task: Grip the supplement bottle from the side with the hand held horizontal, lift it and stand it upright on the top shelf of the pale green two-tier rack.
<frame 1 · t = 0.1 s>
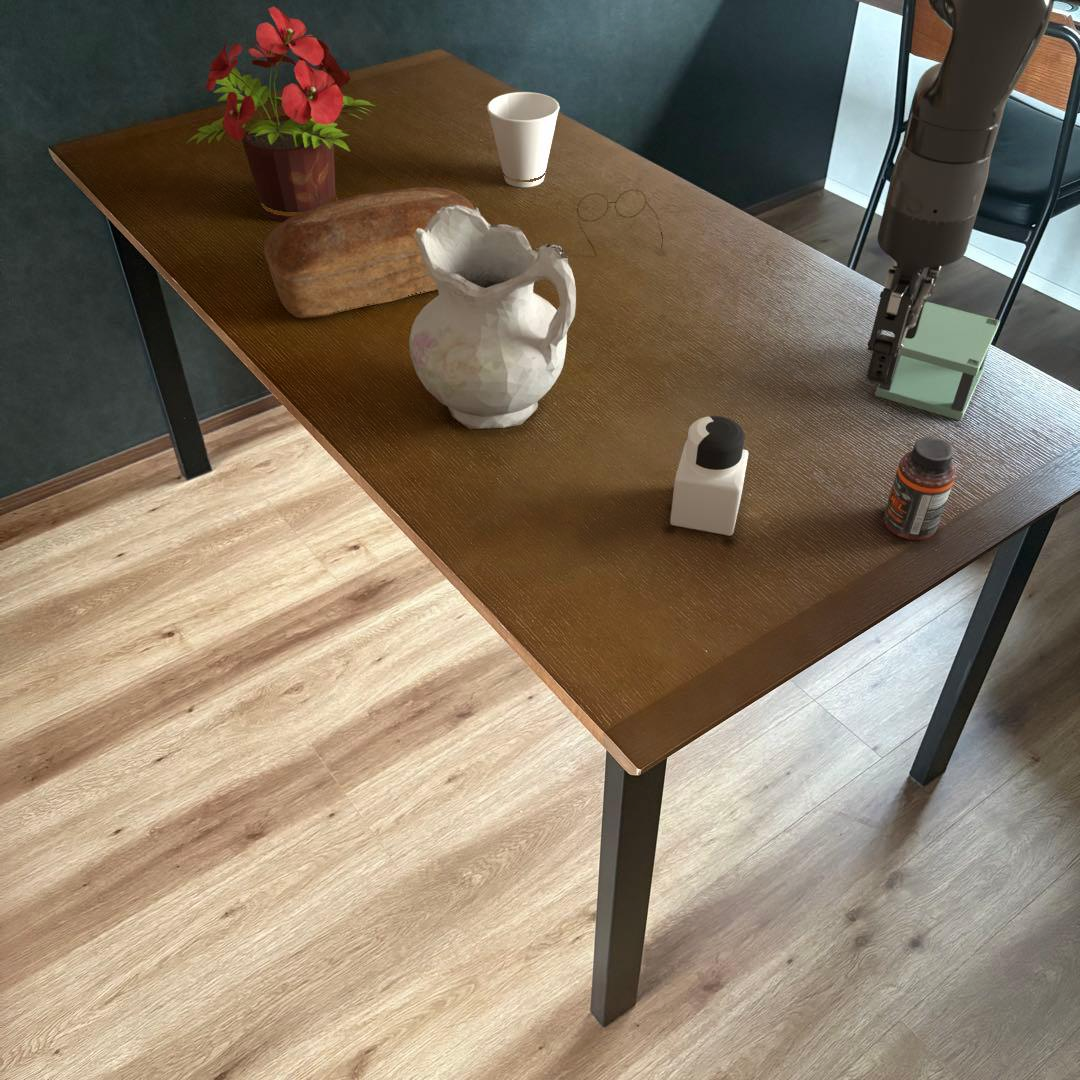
hand: (891, 357, 102), 25 cm above the table, tool pointing down, fingers open, 8 cm apart
potted plant: (307, 198, 180), on the table
medicine bottle: (705, 512, 124), on the table
cup: (524, 179, 184), on the table
shelf rack: (929, 383, 141), on the table
bread: (380, 288, 159), on the table
supplement bottle: (908, 526, 122), on the table
eyeglasses: (619, 236, 170), on the table
ceramic pitcher: (500, 405, 139), on the table
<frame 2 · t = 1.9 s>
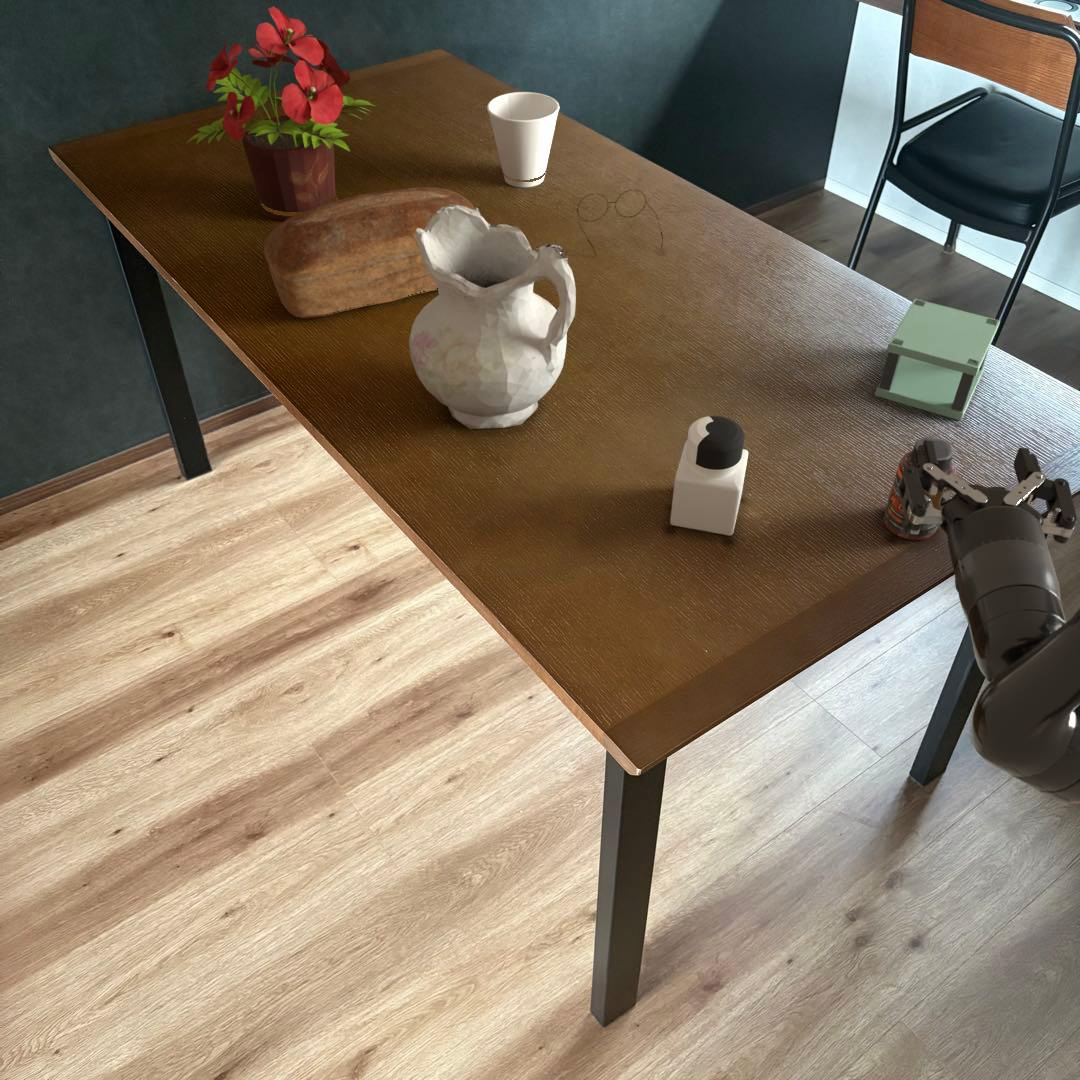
hand: (972, 451, 100), 20 cm above the table, tool horizontal, fingers open, 8 cm apart
nothing on the table moved.
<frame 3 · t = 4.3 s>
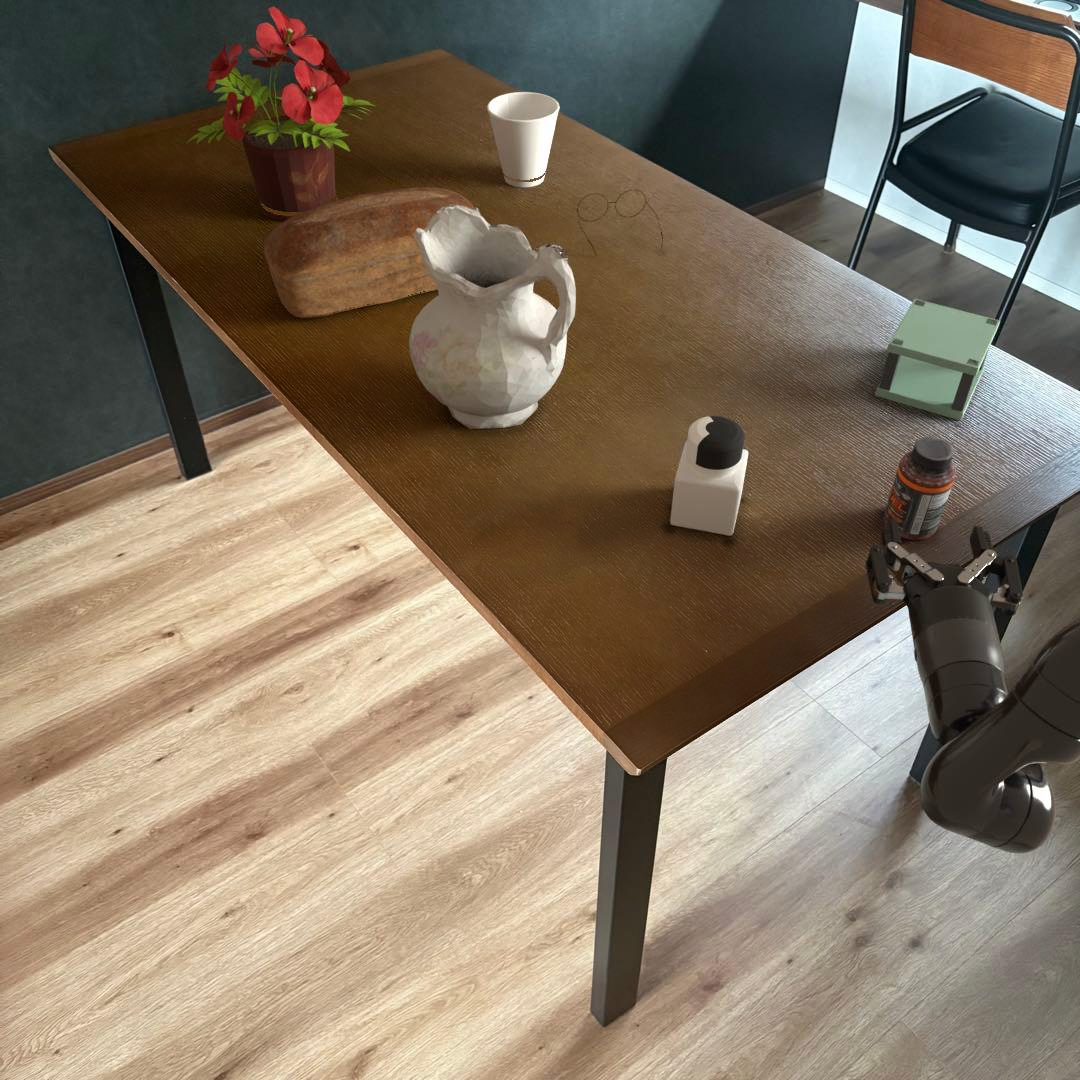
hand: (933, 528, 112), 6 cm above the table, tool horizontal, fingers open, 8 cm apart
nothing on the table moved.
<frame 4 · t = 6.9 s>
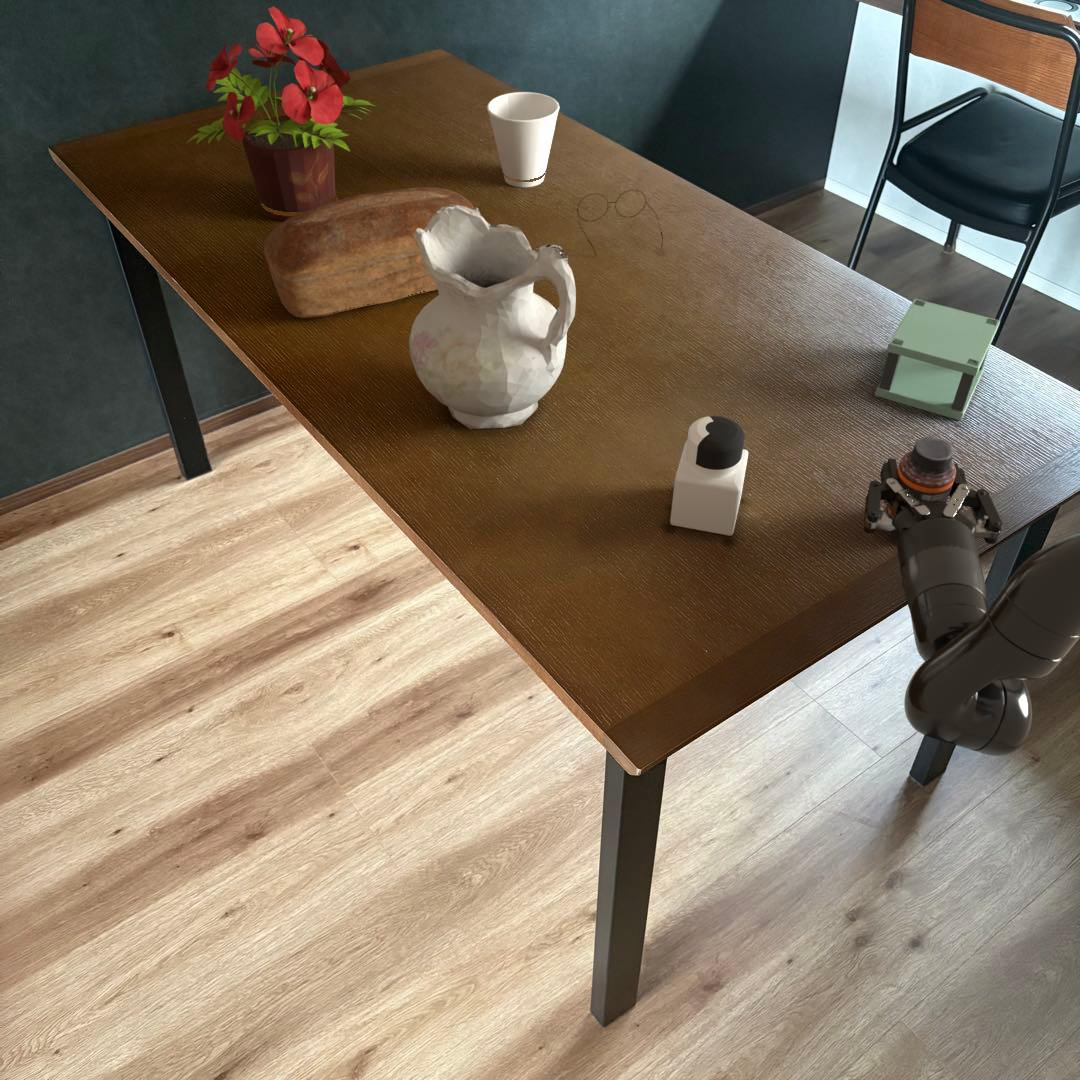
hand: (920, 467, 119), 6 cm above the table, tool horizontal, fingers closed on supplement bottle, 6 cm apart
supplement bottle: (908, 526, 122), on the table, touching gripper
everything else where it was.
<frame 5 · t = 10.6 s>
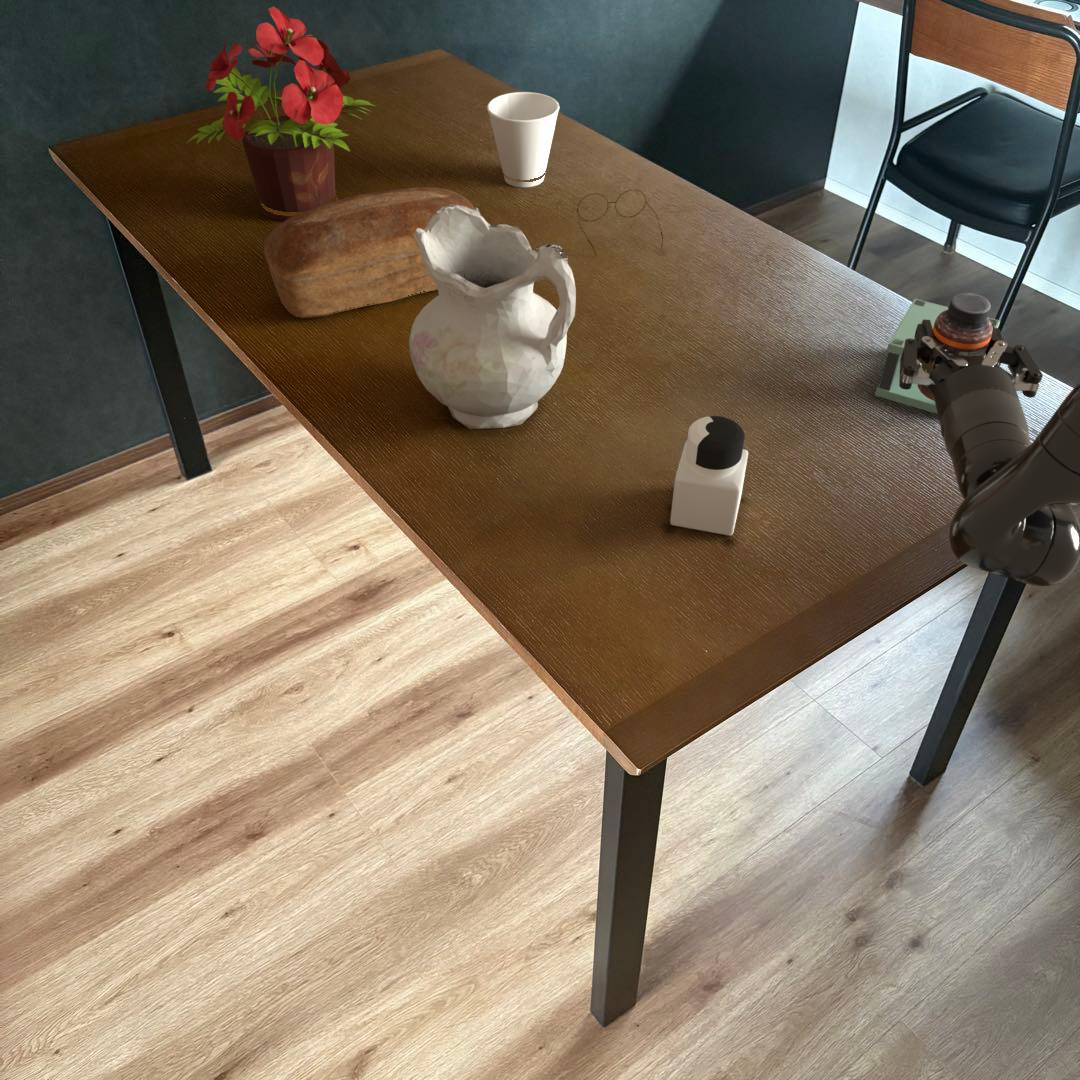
hand: (955, 328, 117), 19 cm above the table, tool horizontal, fingers closed on supplement bottle, 6 cm apart
supplement bottle: (943, 392, 120), point 12 cm above the table, touching gripper
everything else where it was.
when the fingers open (14 cm above the table, at t = 14.7 s): supplement bottle stays where it is, resting on shelf rack.
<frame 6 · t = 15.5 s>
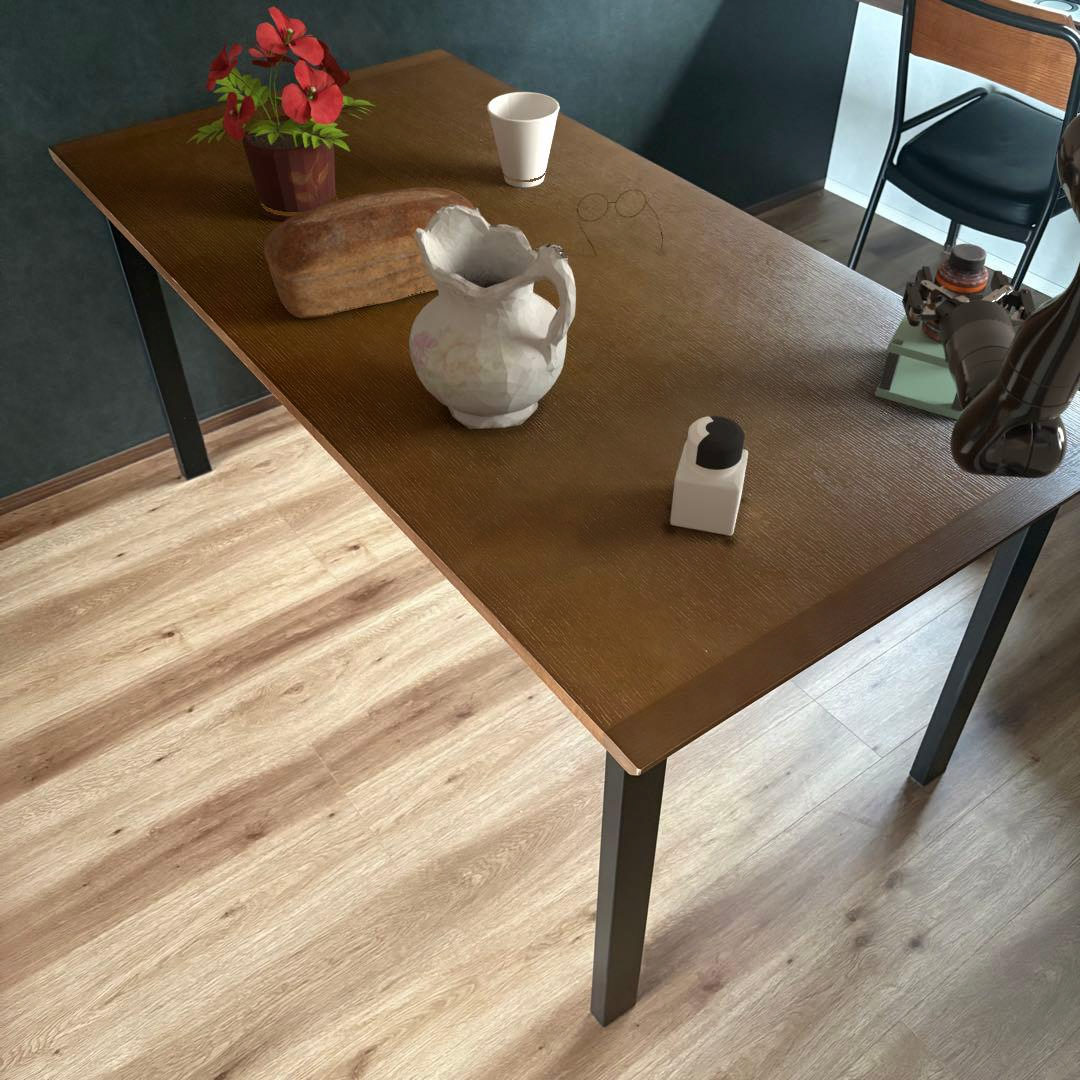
hand: (959, 274, 132), 15 cm above the table, tool horizontal, fingers open, 8 cm apart
supplement bottle: (944, 333, 136), point 8 cm above the table, touching shelf rack
everything else where it was.
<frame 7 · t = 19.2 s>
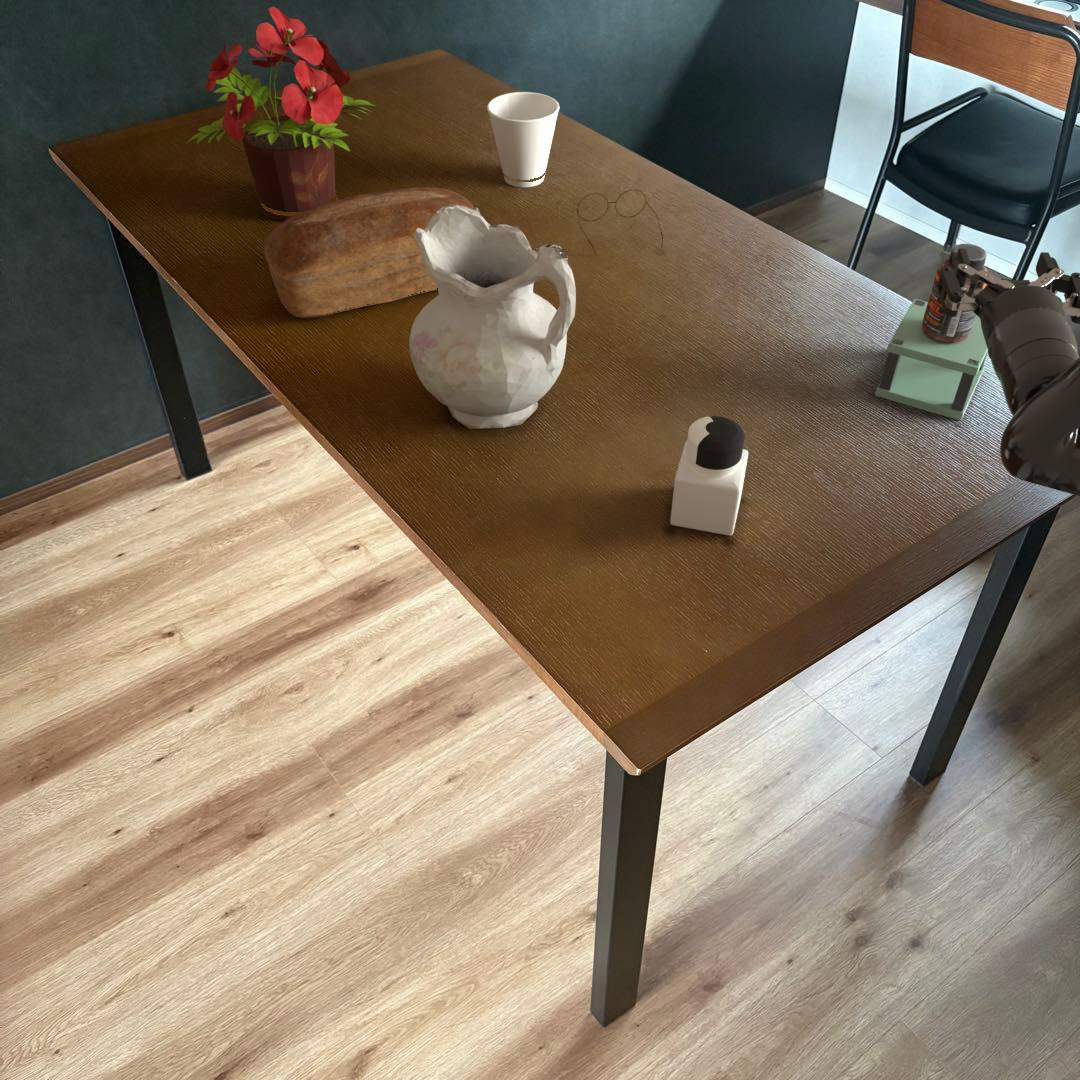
hand: (1000, 257, 116), 25 cm above the table, tool horizontal, fingers open, 8 cm apart
nothing on the table moved.
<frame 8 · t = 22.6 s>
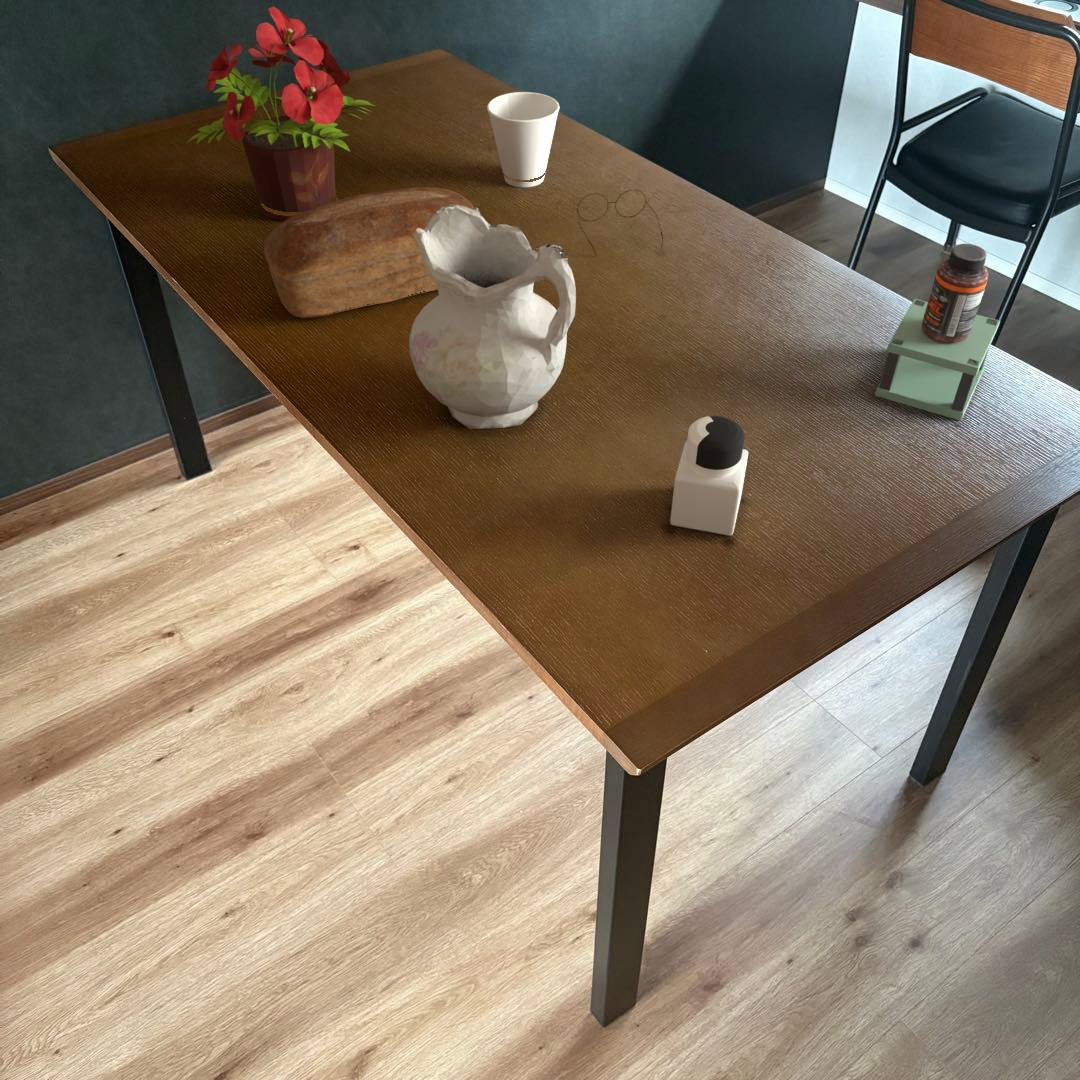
nothing on the table moved.
at the end: supplement bottle inside the target area on the shelf rack (0.1 cm from its centre), point 7.8 cm above the shelf rack's base; supplement bottle tilted 0°; the gripper is holding nothing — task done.
